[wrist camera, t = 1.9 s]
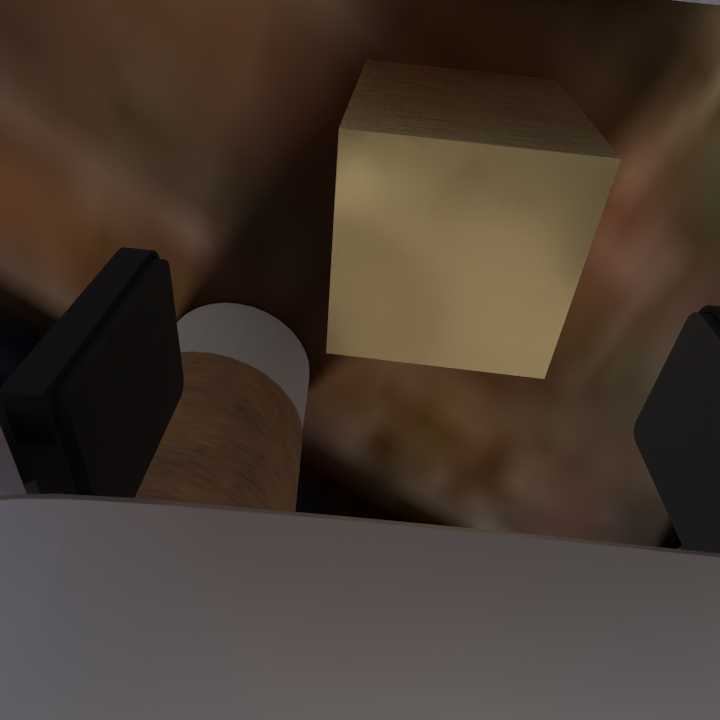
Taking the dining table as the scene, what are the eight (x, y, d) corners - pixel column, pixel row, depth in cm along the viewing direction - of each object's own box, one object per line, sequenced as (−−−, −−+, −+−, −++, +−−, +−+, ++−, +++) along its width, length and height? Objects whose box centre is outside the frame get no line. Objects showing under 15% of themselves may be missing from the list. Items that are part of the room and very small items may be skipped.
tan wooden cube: (556, 79, 17) (621, 158, 11) (511, 251, 20) (544, 378, 15) (366, 58, 17) (338, 128, 11) (352, 233, 20) (326, 353, 15)
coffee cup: (102, 363, 25) (-196, 776, 13) (207, 227, 21) (-91, 654, 9) (262, 463, 28) (140, 876, 16) (383, 362, 24) (341, 821, 12)
